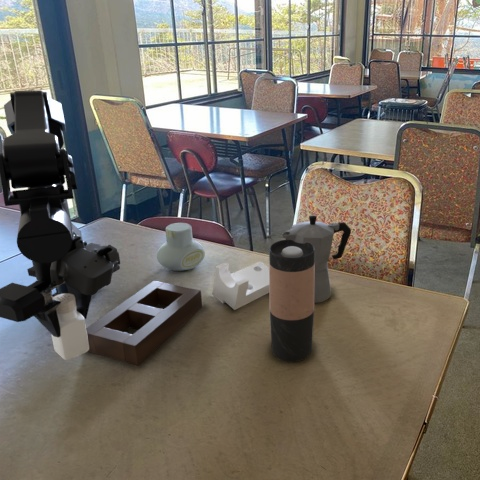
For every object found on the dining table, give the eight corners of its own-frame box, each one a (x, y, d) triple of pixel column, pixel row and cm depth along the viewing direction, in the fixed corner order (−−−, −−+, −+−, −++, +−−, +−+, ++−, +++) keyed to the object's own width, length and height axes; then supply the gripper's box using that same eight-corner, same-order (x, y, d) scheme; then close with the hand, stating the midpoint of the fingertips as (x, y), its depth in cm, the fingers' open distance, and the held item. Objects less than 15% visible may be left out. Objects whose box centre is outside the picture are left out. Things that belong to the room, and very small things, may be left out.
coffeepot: (289, 309, 98) (290, 227, 91) (275, 288, 106) (274, 211, 99) (356, 296, 104) (362, 218, 97) (338, 276, 112) (342, 203, 105)
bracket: (233, 313, 98) (238, 285, 94) (212, 294, 101) (216, 266, 97) (279, 290, 107) (285, 263, 103) (257, 273, 110) (263, 246, 106)
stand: (84, 350, 84) (81, 331, 82) (156, 297, 101) (154, 280, 100) (138, 365, 81) (135, 345, 79) (202, 307, 98) (200, 290, 96)
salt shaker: (79, 341, 77) (70, 289, 73) (91, 351, 75) (82, 298, 71) (53, 352, 74) (42, 298, 71) (65, 363, 72) (54, 308, 68)
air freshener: (188, 253, 121) (185, 216, 117) (211, 262, 117) (208, 224, 113) (152, 268, 113) (147, 229, 109) (174, 279, 109) (170, 238, 105)
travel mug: (280, 368, 81) (279, 261, 73) (264, 343, 87) (261, 243, 79) (320, 355, 84) (323, 253, 76) (301, 333, 91) (303, 235, 83)
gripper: (37, 272, 56) (62, 379, 62) (142, 218, 72) (154, 307, 78) (-32, 256, 59) (-2, 358, 65) (83, 208, 75) (99, 294, 82)
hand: (70, 327), depth 73 cm, fingers closed on salt shaker, 5 cm apart
